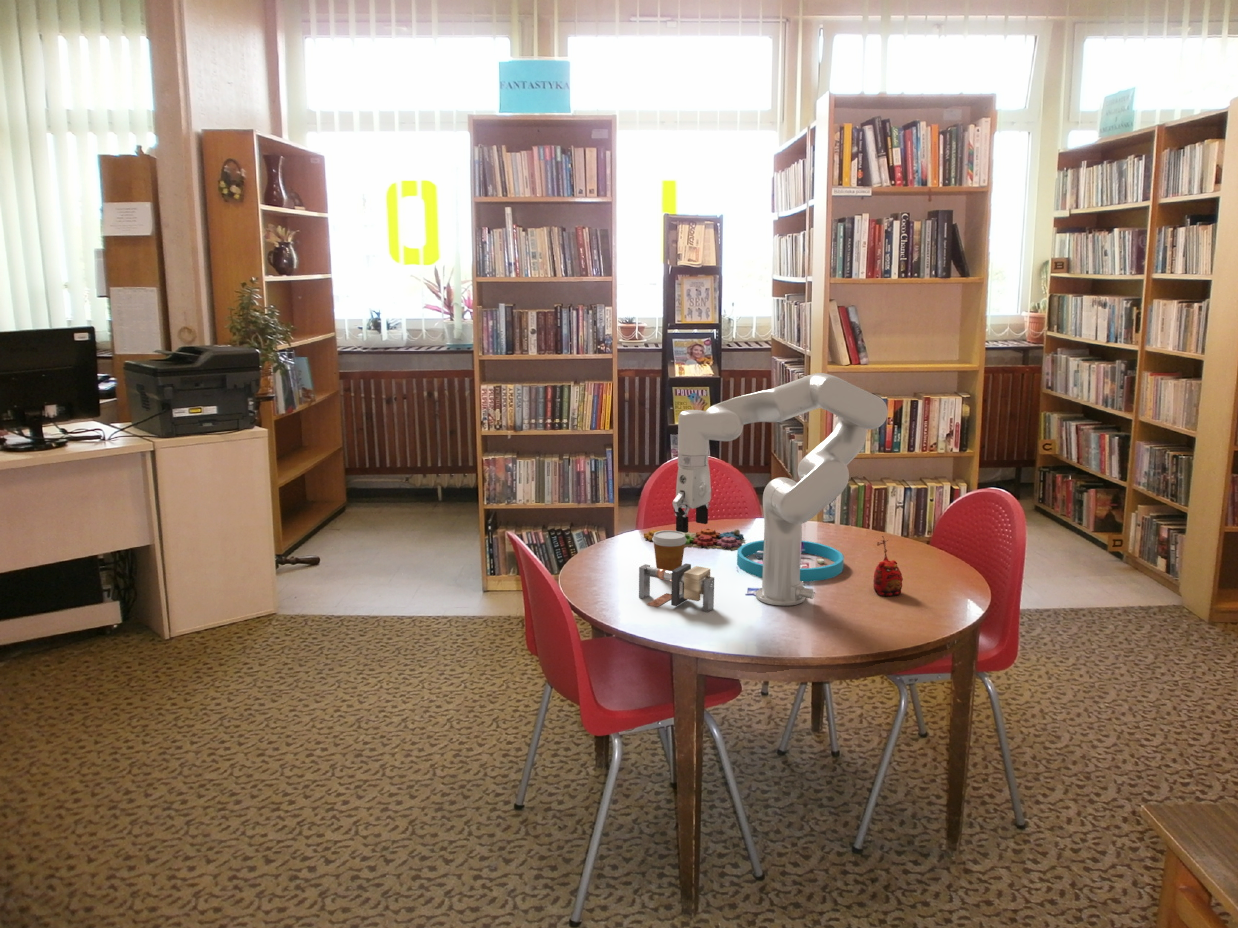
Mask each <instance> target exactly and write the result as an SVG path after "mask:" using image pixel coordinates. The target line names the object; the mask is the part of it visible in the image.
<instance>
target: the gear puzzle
mask: <svg viewBox="0 0 1238 928" xmlns="http://www.w3.org/2000/svg"><path fill="white" fill-rule="evenodd" d="M658 531H661V530H660V529H659V530H658V529H651V530H649V531H648V532H645V533H643V538H644V539H648V541H652V538H653V536H654V533H656V532H658ZM682 533H683V532H682ZM684 534H685V537H686V539H687V541H686V543H685V547H688V548H701V547H702V548H707V549H714V550H715V549H717V550H725V549H731V550H732V551H738V549H739V548H740V547H741V546H742V545H743V540H744V534H742V533H741V531H740V530H739V529H738V528H737V529H734V530H732V531H730V532H729V531H725V532H722V533H720V532H717V531H716V530H715V529H713V528H704V529H701V530H700V531H696V532H691V531H688V532H687V533H684ZM685 547H684V548H685Z"/></svg>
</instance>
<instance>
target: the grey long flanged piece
mask: <svg viewBox="0 0 1238 928" xmlns="http://www.w3.org/2000/svg"><path fill="white" fill-rule="evenodd" d="M651 578H655V579H661V580H664V581H665V580H666V581H670V582H672V571H668V570H664V569H658V568H657V567H652V566H651V565H649V564H645V563H644V564H643V565H641V566H639V568H638V598H639V599H646V598H648V597H650V595H651V590H650V589H651ZM683 583H684V574H683V575H681V576H680V584H683ZM701 587H703V594H702V612H705V613H709V612H712V610H714V608H715V607H714V606H715V605H714V603H715V602H714V601H715V577H714V576H710V577H707V578H703V579H701ZM668 601H671V593H669V592H666V593H664V594H662V595H660V596H659V597H657V598H655V599H653V600H652V601H650V602H648V603H647V604H646V605H647V606H651V607H656V608H658V607H660V606H662V605H663V604H665V603H667V602H668Z"/></svg>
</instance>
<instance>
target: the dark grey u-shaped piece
mask: <svg viewBox="0 0 1238 928" xmlns="http://www.w3.org/2000/svg"><path fill="white" fill-rule="evenodd" d="M690 569H692V564H691V563H684V564H682V566H680V567H678V568H676V569H674V570H673V571H672V581H671V593H670V594H671V599H670V601H671V602H670V603H671V604H670V605H671V606H673V607H678V606H679V605H681V604H683V603H685V602H686V601H687V600H689V599H685V598H684V583H682V593H681V592H680V591H681V590H680V588H681V583H680V576H681V575H683V574H684V572H686V571H688V570H690Z"/></svg>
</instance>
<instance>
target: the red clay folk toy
mask: <svg viewBox="0 0 1238 928" xmlns="http://www.w3.org/2000/svg"><path fill="white" fill-rule="evenodd" d="M881 537H882V538H883V539H882V540H880V541H881V542H879V541H877V544H876V546H878V547H879V546H880V545H883V549H884V553H883V554H884V558H883V561H879V562H878V565H877V566H876V567H875V570H874V573H873V590H874V592H875V593H876V594H878V595H879V596H880V597H881V596H882V597H883V596H884V597H885V596H886V597H890V596H891V597H892V596H900V595H901V594H902V589H903V579H904V578H903V576H902V575H903V574H902V572H901V570H900V568H899V567H898V562H897V561H896V560H890V559H889V558H888V554H887V552H888V550H887V549H886V547H887V546H886V542H888V541H889V539H887V540H885V537H884V535H882V536H881Z"/></svg>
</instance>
